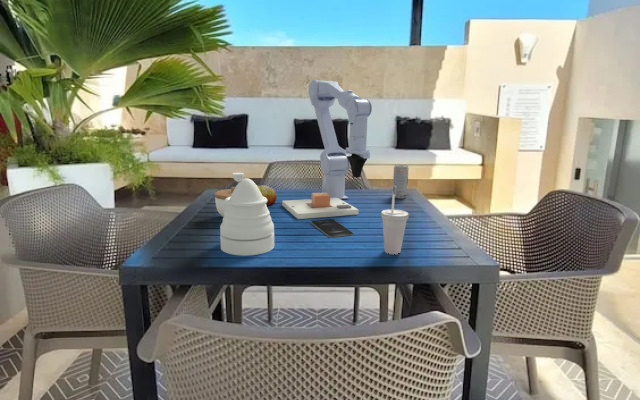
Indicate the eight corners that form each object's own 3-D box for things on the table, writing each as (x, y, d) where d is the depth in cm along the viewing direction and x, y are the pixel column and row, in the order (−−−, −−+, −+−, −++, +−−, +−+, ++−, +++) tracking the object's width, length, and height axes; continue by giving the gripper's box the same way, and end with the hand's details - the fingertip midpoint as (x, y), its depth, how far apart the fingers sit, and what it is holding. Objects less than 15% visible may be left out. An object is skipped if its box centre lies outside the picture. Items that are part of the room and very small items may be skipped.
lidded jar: (258, 215, 132) (258, 185, 130) (238, 224, 123) (237, 192, 121) (230, 211, 137) (229, 182, 134) (208, 219, 127) (206, 188, 125)
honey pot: (226, 258, 96) (224, 179, 92) (216, 241, 108) (213, 170, 104) (281, 251, 101) (281, 176, 97) (265, 235, 113) (265, 167, 109)
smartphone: (329, 236, 112) (309, 220, 126) (329, 239, 112) (309, 223, 126) (355, 234, 115) (333, 218, 128) (354, 237, 115) (332, 221, 129)
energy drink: (405, 195, 165) (408, 164, 162) (407, 199, 160) (409, 166, 157) (391, 195, 165) (393, 164, 163) (392, 198, 160) (394, 166, 157)
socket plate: (282, 205, 146) (282, 199, 145) (336, 201, 153) (336, 195, 152) (297, 219, 129) (298, 211, 129) (358, 214, 136) (358, 207, 136)
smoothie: (376, 247, 106) (379, 191, 102) (402, 247, 106) (405, 191, 103) (382, 256, 99) (385, 197, 96) (409, 256, 100) (413, 197, 97)
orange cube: (311, 208, 143) (311, 192, 142) (326, 207, 144) (326, 192, 143) (314, 212, 138) (315, 195, 137) (329, 211, 139) (330, 195, 138)
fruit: (276, 206, 143) (269, 183, 141) (246, 214, 144) (239, 192, 142) (280, 198, 154) (273, 177, 152) (252, 205, 154) (245, 185, 153)
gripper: (379, 138, 137) (377, 180, 140) (359, 134, 150) (358, 173, 153) (359, 138, 135) (357, 181, 138) (340, 134, 148) (339, 174, 151)
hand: (356, 177), depth 145 cm, fingers closed
